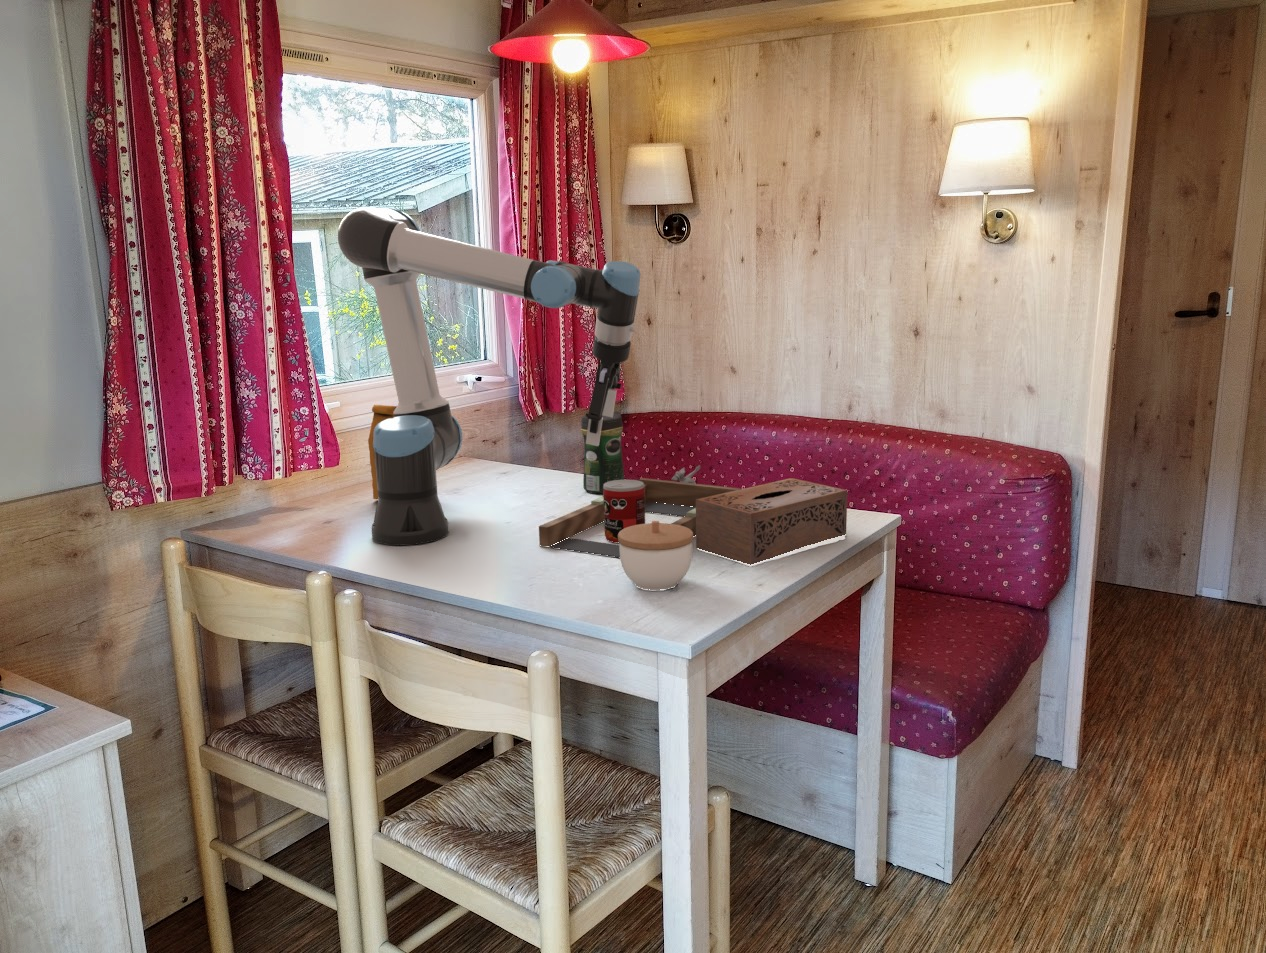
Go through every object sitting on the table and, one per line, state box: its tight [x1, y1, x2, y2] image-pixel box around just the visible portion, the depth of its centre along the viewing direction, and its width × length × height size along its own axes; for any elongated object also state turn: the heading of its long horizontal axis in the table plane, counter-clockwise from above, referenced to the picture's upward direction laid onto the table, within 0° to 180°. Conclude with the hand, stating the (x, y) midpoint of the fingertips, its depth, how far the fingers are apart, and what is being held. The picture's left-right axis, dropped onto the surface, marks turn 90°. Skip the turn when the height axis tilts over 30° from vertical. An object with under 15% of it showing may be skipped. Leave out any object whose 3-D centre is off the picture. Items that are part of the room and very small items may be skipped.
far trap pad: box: [645, 502, 696, 517], centre depth 223 cm, size 8×19×1 cm, turn 60°
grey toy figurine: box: [670, 464, 701, 484], centre depth 236 cm, size 10×6×9 cm
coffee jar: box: [580, 411, 626, 494], centre depth 242 cm, size 10×8×19 cm
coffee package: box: [367, 404, 398, 500], centre depth 236 cm, size 10×12×22 cm
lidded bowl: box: [618, 520, 694, 590], centre depth 175 cm, size 13×13×11 cm
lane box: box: [538, 477, 742, 547], centre depth 211 cm, size 40×24×5 cm, turn 150°
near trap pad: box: [549, 537, 620, 557], centre depth 197 cm, size 6×19×1 cm, turn 60°
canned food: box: [602, 479, 646, 543], centre depth 203 cm, size 8×8×11 cm
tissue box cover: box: [695, 477, 848, 565], centre depth 197 cm, size 26×14×10 cm, turn 129°
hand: (599, 429), depth 222 cm, fingers open, 13 cm apart
